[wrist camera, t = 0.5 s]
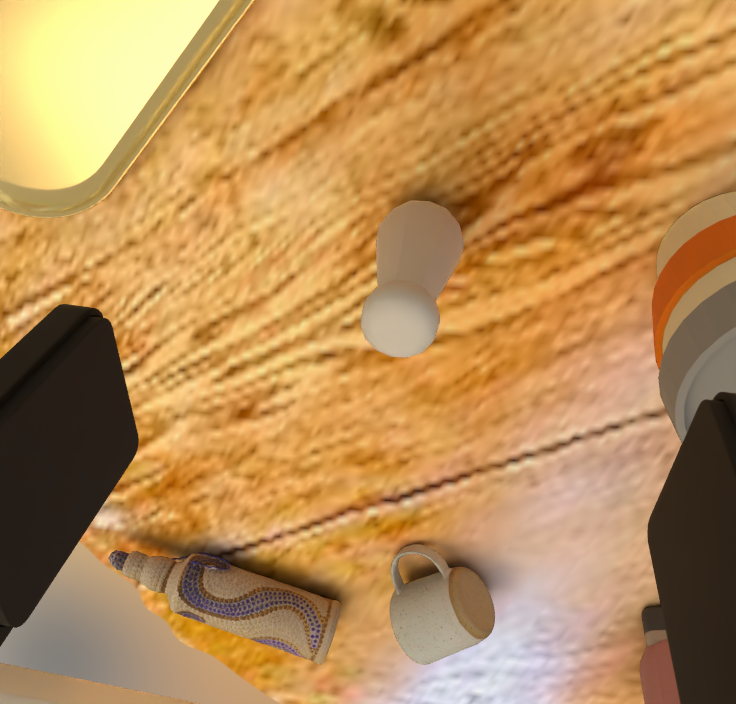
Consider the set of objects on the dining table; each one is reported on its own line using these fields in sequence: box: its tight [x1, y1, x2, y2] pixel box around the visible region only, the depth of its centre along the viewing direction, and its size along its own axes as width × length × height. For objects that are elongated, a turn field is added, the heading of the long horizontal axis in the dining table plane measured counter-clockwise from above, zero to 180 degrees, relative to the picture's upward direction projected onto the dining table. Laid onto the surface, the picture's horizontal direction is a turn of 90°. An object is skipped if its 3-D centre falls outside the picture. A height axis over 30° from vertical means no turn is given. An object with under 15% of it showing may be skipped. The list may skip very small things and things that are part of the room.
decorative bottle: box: [109, 550, 341, 664], centre depth 71 cm, size 26×8×7 cm, turn 73°
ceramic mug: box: [390, 544, 495, 665], centre depth 64 cm, size 11×8×8 cm
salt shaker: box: [361, 200, 464, 358], centre depth 40 cm, size 6×6×13 cm
